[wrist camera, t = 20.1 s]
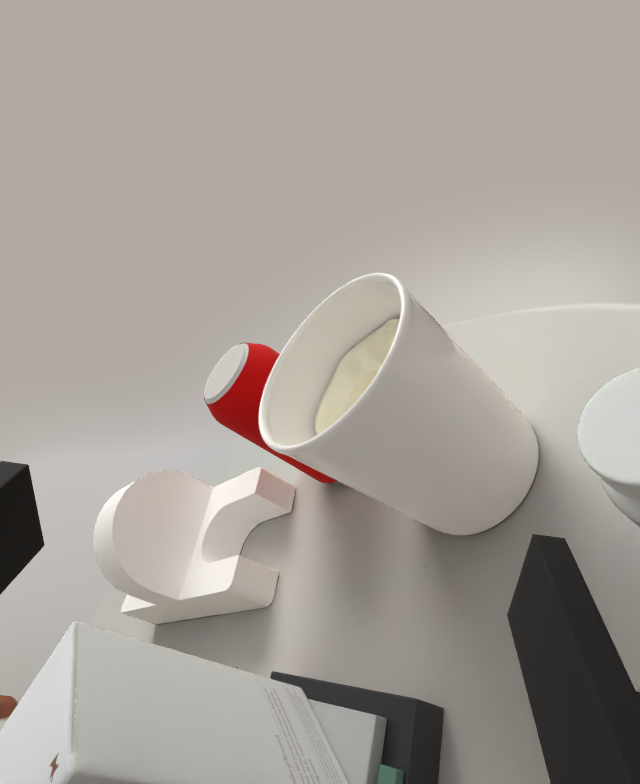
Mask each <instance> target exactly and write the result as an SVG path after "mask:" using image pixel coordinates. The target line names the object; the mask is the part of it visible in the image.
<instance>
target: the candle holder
mask: <svg viewBox="0 0 640 784" xmlns="http://www.w3.org/2000/svg"><path fill="white" fill-rule="evenodd" d="M259 429H260V433H261V436H262V438H263V440H264V442H265V443H266V444H267V445H268V446H269V447H270V448H271V449H273V450H274V451H276V452H278V453H281V454H284V455H287V456H289V457H291V458H293V459H295V460H297V461H299V462H301V463H303V464H305V465H307V466H309V467H311V468H313V469H315V470H317V471H319V472H321V473H323V474H325V475H327V476H329V477H331V478H333V479H335V480H337V481H339V482H341V483H343V484H345V485H347V486H349V487H351V488H353V489H355V490H357V491H359V492H361V493H362V494H364V495H366V496H368V497H370V498H372V499H374V500H376V501H378V502H380V503H382V504H384V505H386V506H388V507H390V508H392V509H394V510H396V511H398V512H400V513H402V514H404V515H406V516H408V517H410V518H412V519H414V520H416V521H418V522H420V523H422V524H424V525H426V526H428V527H430V528H433V529H435V530H437V531H440V532H443V533H446V534H450V535H471V534H476V533H479V532H482V531H485V530H487V529H490V528H492V527H493V526H495V525H497V524H498V523H500V522H501V521H503V520H504V519H505V518H507V517H508V516H509V515H510V514H511V513H512V512H513V511H514V510H515V509H516V508H517V507H518V506H519V504H520V503H521V502H522V501H523V499H524V498H525V496H526V495H527V493H528V491H529V489H530V487H531V485H532V483H533V480H534V478H535V474H536V471H537V466H538V458H539V450H538V442H537V438H536V435H535V432H534V430H533V428H532V426H531V424H530V423H529V421H528V420H527V418H526V417H525V416H524V415H523V414H522V412H521V411H520V410H519V409H518V408H517V407H516V406H515V405H514V403H513V402H512V401H511V400H510V399H509V398H508V397H507V396H506V395H505V394H504V393H503V392H502V390H501V389H500V388H499V387H498V386H497V385H496V384H495V383H494V382H493V381H492V380H491V379H490V378H489V377H488V376H487V375H486V373H485V372H484V371H483V370H482V369H481V368H480V367H479V366H478V365H477V364H476V363H475V362H474V361H473V360H472V359H471V358H470V357H469V355H468V354H467V353H466V352H465V351H464V350H463V349H462V348H461V347H460V346H459V345H458V344H457V343H456V342H455V341H454V340H453V339H452V337H451V336H450V335H449V334H448V333H447V332H446V331H445V330H444V329H443V328H442V327H441V326H440V325H439V324H438V323H437V322H436V321H435V319H434V318H433V317H432V316H431V315H430V314H429V313H428V312H427V311H426V310H425V309H424V308H423V307H422V306H421V305H420V304H419V302H417V300H416V299H415V298H414V297H413V296H412V295H411V294H410V293H409V291H408V290H407V288H406V287H405V285H404V284H403V283H402V282H401V281H400V280H399V279H398V278H396V277H395V276H393V275H390V274H387V273H371V274H367V275H364V276H361V277H358V278H356V279H354V280H352V281H350V282H349V283H347V284H345V285H343V286H342V287H340V288H339V289H337V290H336V291H335V292H333V293H332V294H331V295H330V296H328V297H327V298H326V299H325V300H324V301H323V302H321V303H320V304H319V305H318V306H317V307H316V308H315V309H314V310H313V311H312V312H311V313H310V314H309V316H308V317H307V318H306V319H305V320H304V321H303V322H302V324H301V325H300V326H299V327H298V329H297V330H296V331H295V332H294V334H293V335H292V337H291V338H290V339H289V341H288V342H287V344H286V345H285V347H284V349H283V350H282V352H281V353H280V355H279V357H278V359H277V360H276V362H275V364H274V366H273V368H272V370H271V372H270V375H269V377H268V379H267V382H266V385H265V387H264V390H263V394H262V397H261V402H260V407H259Z"/></svg>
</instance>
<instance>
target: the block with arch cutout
mask: <svg viewBox="0 0 640 784" xmlns="http://www.w3.org/2000/svg"><path fill="white" fill-rule="evenodd" d="M295 490H296V487H295V486H294V485H292V484H290V483H289V482H287V481H285V480H283V479H281V478H280V477H278V476H276V475H274V474H272V473H271V472H269V471H267V470H265V469H263V468H262V467H257V468H255V469H253V470H251V471H248V472H246V473H244V474H242V475H240V476H237V477H235V478H233V479H231V480H229V481H226V482H224V483H222V484H220V485H218V486H216V487H212V486H210V485H208V484H206V483H204V482H202V481H200V480H198V479H196V478H194V477H192V476H189V475H187V474H184V473H181V472H178V471H167V470H162V471H158V472H153V473H150V474H147V475H145V476H143V477H142V478H140V479H138V480H136V481H134V482H133V483H131V484H129V485H127V486H126V487H124V488H122V489H120V490H119V491H117V492H116V493H115V494H114V495H113V496H112V497H111V498H110V499H109V500H108V501H107V502H106V503H105V505H104V507H103V508H102V510H101V512H100V513H99V515H98V518H97V522H96V525H95V528H94V542H93V543H94V544H93V548H94V551H95V556H96V560H97V564H98V565H99V567H100V569H101V571H102V572H103V574H104V576H105V578H106V579H107V580H108V581H109V582H110V583H111V584H112V585H113V586H114V587H115V588H116V589H118V590H120V591H122V592H124V593H126V594H127V595H126V598H125V600H124V603H123V606H122V608H121V611H120V613H122V614H125V615H128V616H131V617H134V618H137V619H140V620H143V621H146V622H149V623H152V624H161V623H167V622H174V621H180V620H186V619H193V618H199V617H205V616H212V615H220V614H226V613H233V612H239V611H245V610H252V609H258V608H265V607H268V606H269V605H270V604H271V603H272V601H273V598H274V595H275V590H276V585H277V580H278V575H279V572H277V571H275V570H272V569H270V568H268V567H266V566H263V565H261V564H259V563H257V562H254V561H252V560H250V559H248V558H245V557H243V556H241V555H240V552H241V549H242V546H243V544H244V542H245V540H246V538H247V536H248V535H249V533H250V532H251V531H252V530H253V528H254V527H256V526H257V525H258V524H259V523H261V522H263V521H266V520H269V519H272V518H275V517H278V516H281V515H284V514H287V513H290V512H291V510H292V505H293V500H294V495H295Z"/></svg>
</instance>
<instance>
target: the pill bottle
mask: <svg viewBox="0 0 640 784" xmlns="http://www.w3.org/2000/svg"><path fill="white" fill-rule="evenodd" d="M577 439H578V445H579V449H580V451H581V454H582V456H583V458H584V459H585V461H586V462H587V464H588V465H589V466H590V467H591V468H592V469H593V470H594V471H595V472H596V473H597V474H598V475H599V476H600V478H601V482H602V485H603V487H604V489H605V491H606V493H607V495H608V496H609V498H610V499H611V501H612V502H613V504H614V505H615V506H616V507H617V508H618V509H619V510H620V511H621V512H622V513H624V514H625V515H626V516H627V517H628V518H630V519H631V520H632V521H633V522H634V523H635V524H636V525H638V526H639V527H640V368H637V369H634V370H631V371H629V372H626V373H624V374H622V375H619V376H618V377H616V378H615V379H613V380H611V381H610V382H608V383H607V384H606V385H604V386H603V387H602V388H601V389H599V390H598V391H597V392H596V393H595V394H594V395H593V397H592V398H591V399H590V400H589V402H588V403H587V405H586V407H585V408H584V410H583V412H582V414H581V417H580V420H579V425H578V432H577Z"/></svg>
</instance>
